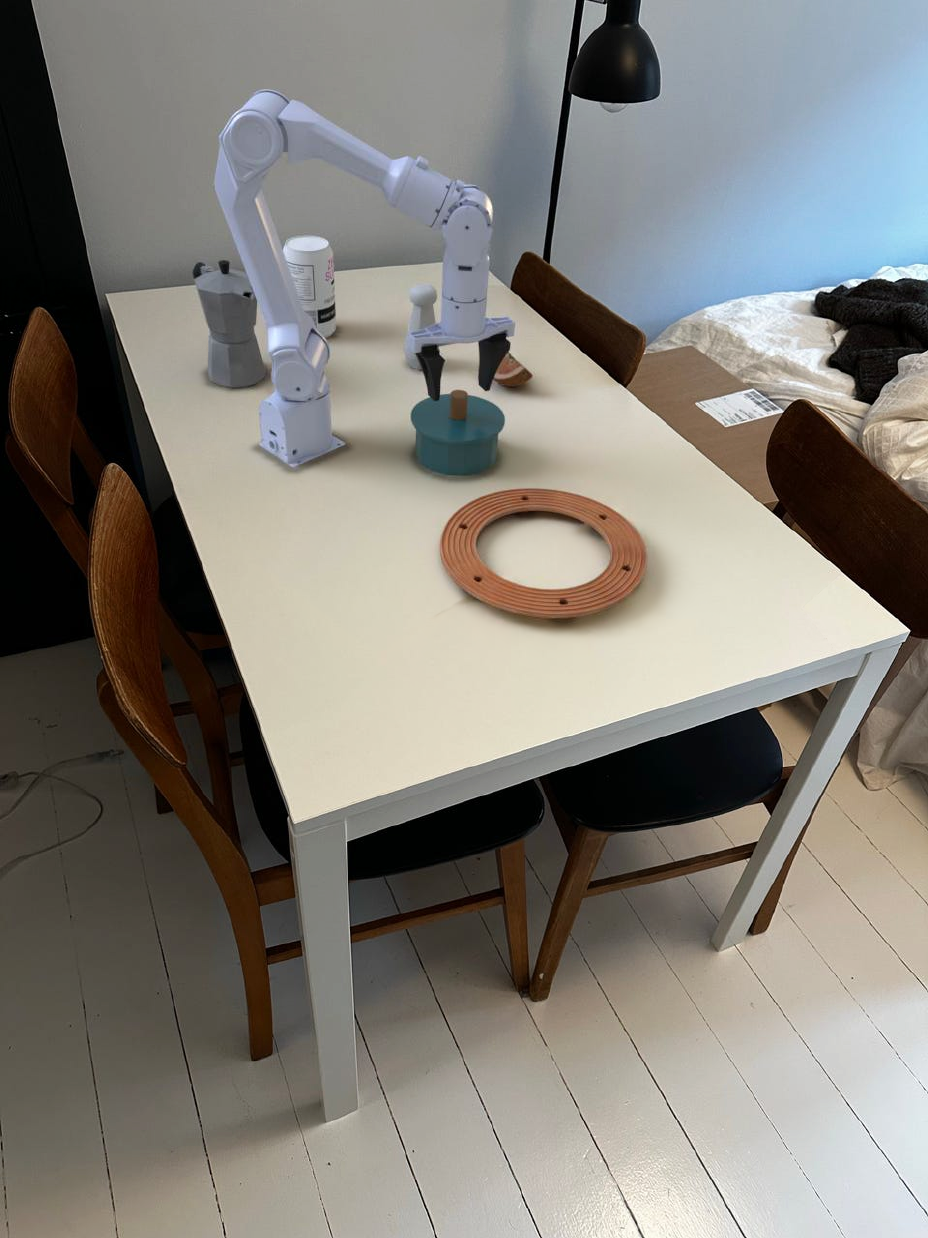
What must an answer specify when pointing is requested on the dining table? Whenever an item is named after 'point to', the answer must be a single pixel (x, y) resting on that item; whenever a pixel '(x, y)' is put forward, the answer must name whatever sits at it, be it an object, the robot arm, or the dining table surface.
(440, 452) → the tin
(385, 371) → the dining table surface
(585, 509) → the ring
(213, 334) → the coffeepot
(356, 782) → the dining table surface
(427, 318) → the salt shaker
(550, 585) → the dining table surface
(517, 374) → the fruit slice
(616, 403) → the dining table surface
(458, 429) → the lid
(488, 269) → the robot arm
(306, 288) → the supplement can
